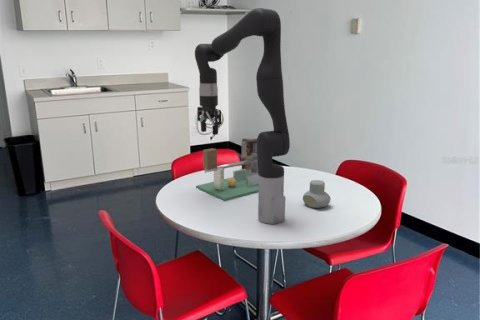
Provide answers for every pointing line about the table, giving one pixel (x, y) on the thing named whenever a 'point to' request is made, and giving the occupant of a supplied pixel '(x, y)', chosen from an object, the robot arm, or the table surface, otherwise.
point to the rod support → (254, 164)
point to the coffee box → (248, 151)
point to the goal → (246, 177)
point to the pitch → (229, 190)
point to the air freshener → (316, 195)
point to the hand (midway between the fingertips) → (209, 133)
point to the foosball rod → (211, 165)
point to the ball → (231, 182)
